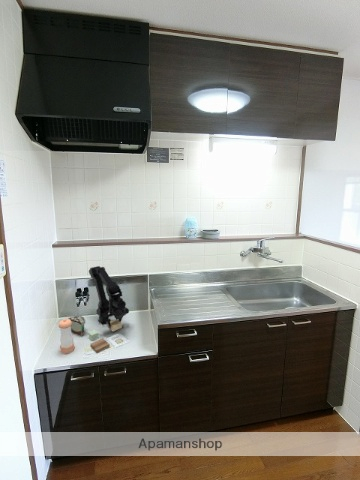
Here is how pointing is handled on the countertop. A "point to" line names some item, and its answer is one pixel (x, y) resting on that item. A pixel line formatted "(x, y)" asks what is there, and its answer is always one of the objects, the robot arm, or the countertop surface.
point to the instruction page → (117, 340)
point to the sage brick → (93, 335)
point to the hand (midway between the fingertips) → (114, 325)
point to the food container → (77, 325)
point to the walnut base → (99, 345)
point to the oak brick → (115, 325)
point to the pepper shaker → (66, 336)
